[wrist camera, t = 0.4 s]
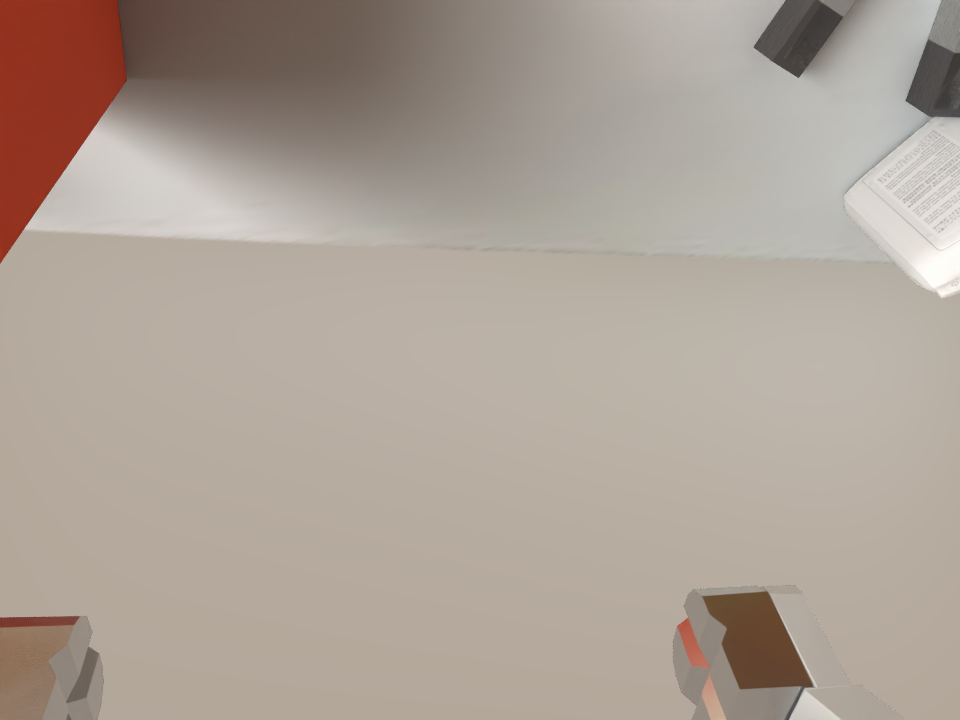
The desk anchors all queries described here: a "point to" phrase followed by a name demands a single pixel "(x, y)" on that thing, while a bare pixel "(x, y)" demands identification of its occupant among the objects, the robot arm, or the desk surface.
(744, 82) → the desk surface
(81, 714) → the robot arm
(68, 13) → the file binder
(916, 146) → the photo printer
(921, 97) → the tongs body
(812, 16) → the bar
